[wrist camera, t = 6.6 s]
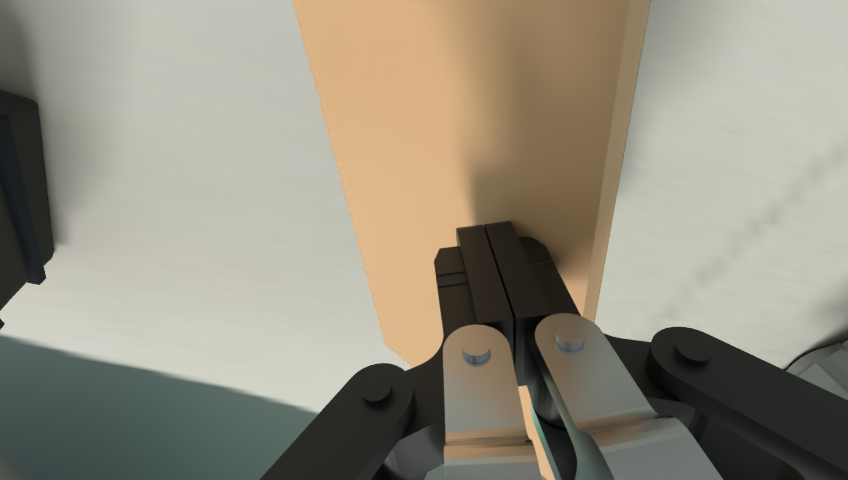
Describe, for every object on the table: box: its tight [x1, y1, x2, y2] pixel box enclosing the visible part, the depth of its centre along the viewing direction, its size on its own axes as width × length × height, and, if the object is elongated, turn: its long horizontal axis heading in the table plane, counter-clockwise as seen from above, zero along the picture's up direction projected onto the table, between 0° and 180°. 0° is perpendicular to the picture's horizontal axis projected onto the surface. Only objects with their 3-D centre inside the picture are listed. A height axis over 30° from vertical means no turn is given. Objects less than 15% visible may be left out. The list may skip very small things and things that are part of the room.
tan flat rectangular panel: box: [293, 0, 651, 480], centre depth 14 cm, size 22×11×1 cm
